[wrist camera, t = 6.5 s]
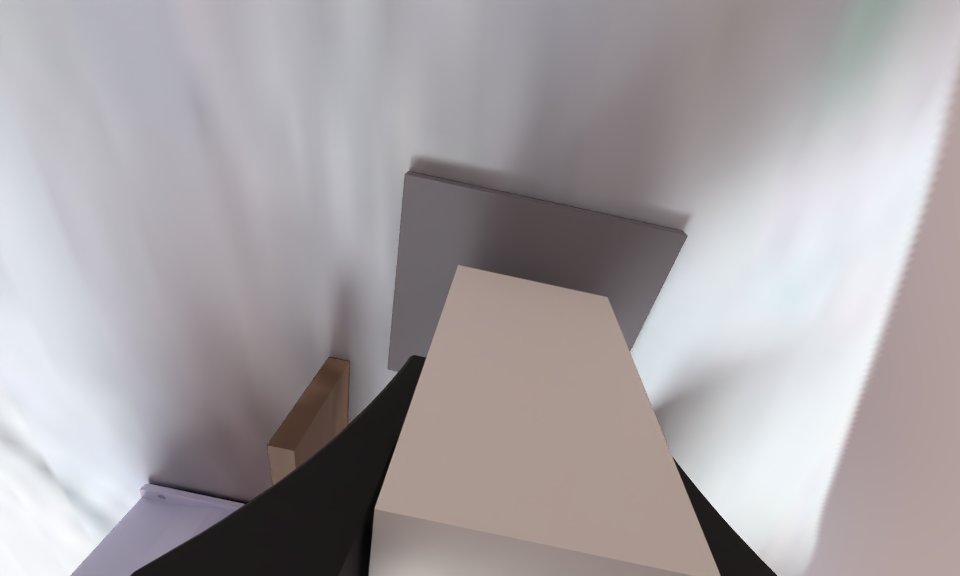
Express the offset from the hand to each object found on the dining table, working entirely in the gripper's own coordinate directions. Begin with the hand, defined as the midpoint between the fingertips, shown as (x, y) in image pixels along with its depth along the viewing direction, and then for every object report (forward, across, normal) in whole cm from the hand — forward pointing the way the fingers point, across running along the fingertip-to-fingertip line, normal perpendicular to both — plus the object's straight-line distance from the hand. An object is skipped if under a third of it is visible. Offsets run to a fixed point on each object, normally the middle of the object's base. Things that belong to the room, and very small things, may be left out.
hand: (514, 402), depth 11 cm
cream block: (+3, 0, 0) cm, 3 cm away
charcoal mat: (+5, 0, 0) cm, 5 cm away
